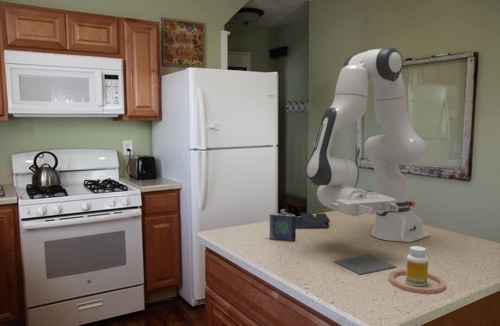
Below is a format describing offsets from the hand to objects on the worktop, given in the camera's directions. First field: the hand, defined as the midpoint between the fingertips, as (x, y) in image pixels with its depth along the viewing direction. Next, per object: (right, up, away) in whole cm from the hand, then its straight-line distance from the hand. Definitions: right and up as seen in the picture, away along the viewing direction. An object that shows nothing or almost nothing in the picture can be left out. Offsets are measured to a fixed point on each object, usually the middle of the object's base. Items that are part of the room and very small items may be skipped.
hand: (385, 210), depth 119 cm
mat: (-5, -17, +5) cm, 19 cm away
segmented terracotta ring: (+6, -19, -9) cm, 22 cm away
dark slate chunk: (-17, -13, +54) cm, 58 cm away
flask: (-28, -15, +31) cm, 44 cm away
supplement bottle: (+6, -19, -9) cm, 22 cm away
